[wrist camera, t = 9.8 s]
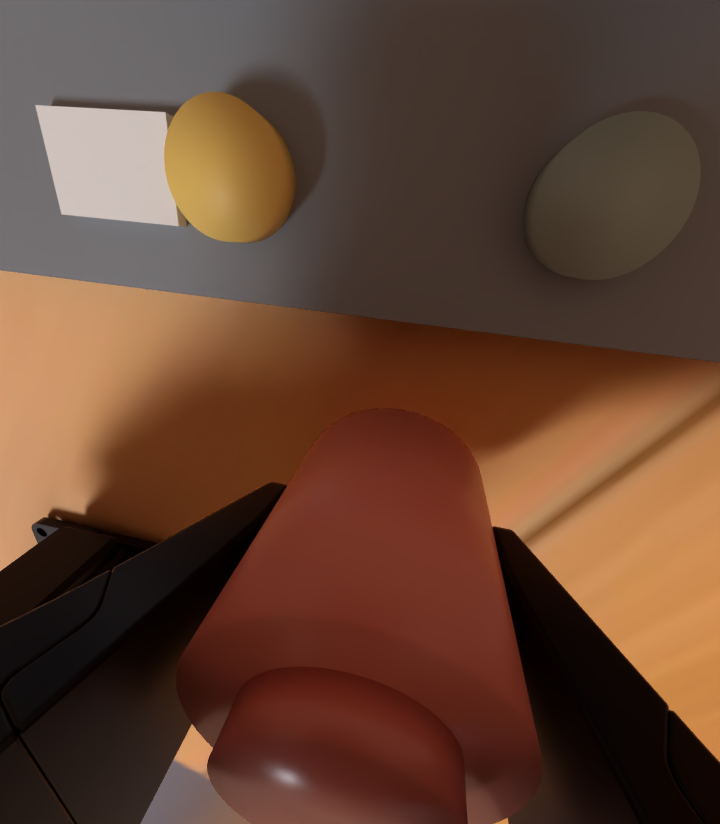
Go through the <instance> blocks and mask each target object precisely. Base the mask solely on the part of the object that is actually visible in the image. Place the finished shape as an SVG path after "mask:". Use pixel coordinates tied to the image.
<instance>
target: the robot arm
mask: <svg viewBox="0 0 720 824" xmlns="http://www.w3.org/2000/svg"><path fill="white" fill-rule="evenodd" d="M286 487H287V485H284V484H279V483H274V482H271V483H268V484H266V485H265V486H263V487H261V488H259V489H257V490H255V491H254V492H252V493H250V494H248V495H246V496H244V497H242V498H241V499H239V500H237V501H235V502H233V503H231V504H230V505H228V506H226V507H224V508H222V509H220V510H219V511H217V512H215V513H213V514H211V515H209V516H208V517H206V518H204V519H202V520H200V521H198V522H197V523H195V524H193V525H191V526H189V527H187V528H186V529H184V530H182V531H180V532H178V533H176V534H175V535H173V536H171V537H169V538H167V539H165V540H164V541H162V542H160V543H154V542H150V541H146V540H142V539H137V538H133V537H129V536H124V535H120V534H116V533H111V532H107V531H103V530H99V529H94V528H90V527H86V526H81V525H77V524H73V523H68V522H64V521H60V520H56V519H51V518H46V517H44V518H42V519H40V520H39V521H37V522H36V523H34V524H33V525H32V531H33V533H34V536H35V538H36V540H37V543H38V544H37V545H36V546H34V547H33V548H31V549H30V550H29V551H27V552H26V553H25V554H23V555H22V556H21V557H19V558H18V559H17V560H15V561H14V562H12V563H11V564H10V565H8V566H7V567H6V568H4V569H3V570H2V571H0V824H140V823H141V821H142V819H143V817H144V815H145V813H146V812H147V809H148V808H149V806H150V804H151V802H152V800H153V798H154V796H155V794H156V792H157V790H158V788H159V786H160V784H161V782H162V781H163V779H164V777H165V775H166V773H167V771H168V769H169V767H170V765H171V763H172V761H173V759H174V757H175V755H176V754H177V752H178V750H179V748H180V746H181V744H182V742H183V740H184V738H185V736H186V734H187V732H188V730H189V728H190V726H191V725H192V723H191V721H190V720H189V718H188V717H187V715H186V713H185V711H184V709H183V707H182V705H181V702H180V699H179V696H178V693H177V687H176V669H177V666H178V663H179V660H180V657H181V655H182V654H183V652H184V651H185V649H186V647H187V646H188V644H189V643H190V641H191V639H192V638H193V636H194V635H195V633H196V631H197V630H198V628H199V627H200V625H201V623H202V622H203V620H204V619H205V617H206V615H207V614H208V612H209V611H210V609H211V607H212V606H213V604H214V603H215V601H216V599H217V598H218V596H219V594H220V593H221V591H222V590H223V588H224V586H225V585H226V583H227V582H228V580H229V578H230V577H231V575H232V574H233V572H234V570H235V569H236V567H237V566H238V564H239V562H240V561H241V559H242V558H243V556H244V554H245V553H246V551H247V550H248V548H249V546H250V545H251V543H252V542H253V540H254V538H255V537H256V535H257V534H258V532H259V530H260V529H261V527H262V526H263V524H264V522H265V521H266V519H267V518H268V516H269V514H270V513H271V511H272V510H273V508H274V506H275V505H276V503H277V502H278V500H279V498H280V497H281V495H282V494H283V492H284V490H285V489H286ZM492 529H493V533H494V538H495V542H496V547H497V552H498V556H499V561H500V566H501V570H502V575H503V580H504V584H505V589H506V594H507V598H508V603H509V607H510V612H511V617H512V621H513V626H514V631H515V635H516V640H517V645H518V649H519V654H520V659H521V663H522V668H523V672H524V677H525V682H526V686H527V691H528V696H529V700H530V705H531V710H532V714H533V719H534V724H535V728H536V733H537V737H538V742H539V747H540V751H541V756H542V768H543V772H542V777H541V782H540V785H539V787H538V789H537V791H536V793H535V795H534V797H533V798H532V799H531V800H530V801H529V802H528V803H527V804H526V806H525V807H523V808H522V809H520V810H519V811H518V812H516V813H515V814H514V815H512V816H510V817H508V822H509V824H720V762H719V761H718V760H717V759H716V758H715V756H714V755H713V754H712V753H711V752H710V751H709V750H708V749H707V748H706V747H705V746H704V744H703V743H702V742H701V741H700V740H699V739H698V738H697V737H696V736H695V734H694V733H693V732H692V731H691V730H690V729H689V728H688V727H687V725H686V724H685V723H684V722H683V721H682V720H681V719H680V718H679V716H678V715H677V714H676V713H675V712H674V711H671V710H669V707H668V705H667V703H666V702H665V701H664V700H663V699H662V698H661V696H660V695H659V694H658V693H657V692H656V691H655V690H654V689H653V687H652V686H651V685H650V684H649V683H648V682H647V681H646V680H645V678H644V677H643V676H642V675H641V674H640V673H639V672H638V671H637V670H636V668H635V667H634V666H633V665H632V664H631V663H630V662H629V661H628V659H627V658H626V657H625V656H624V655H623V654H622V653H621V652H620V650H619V649H618V648H617V647H616V646H615V645H614V644H613V643H612V641H611V640H610V639H609V638H608V637H607V636H606V635H605V634H604V632H603V631H602V630H601V629H600V628H599V627H598V626H597V625H596V623H595V622H594V621H593V620H592V619H591V618H590V617H589V616H588V614H587V613H586V612H585V611H584V610H583V609H582V608H581V607H580V605H579V604H578V603H577V602H576V601H575V600H574V599H573V598H572V596H571V595H570V594H569V593H568V592H567V591H566V590H565V589H564V587H563V586H562V585H561V584H560V583H559V582H558V581H557V580H556V578H555V577H554V576H553V575H552V574H551V573H550V572H549V571H548V569H547V568H546V567H545V566H544V565H543V564H542V563H541V562H540V561H539V559H538V558H537V557H536V556H535V555H534V554H533V553H532V552H531V550H530V549H529V548H528V547H527V546H526V545H525V544H524V543H523V541H522V540H521V539H520V538H519V537H518V536H517V535H516V534H515V533H514V532H513V531H512V530H510V529H505V528H500V527H495V526H494V527H492Z"/></svg>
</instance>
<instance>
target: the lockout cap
mask: <svg viewBox="0 0 720 824" xmlns="http://www.w3.org/2000/svg"><path fill="white" fill-rule="evenodd" d="M176 687H177V693H178V696H179V699H180V702H181V705H182V707H183V709H184V711H185V713H186V715H187V717H188V718H189V720H190V721H191V723H192V724H193V725H194V727H195V728H196V730H197V731H198V732H199V733H200V734H201V735H202V737H203V738H204V739H205V740H206V741H207V742H208V743H209V744H210V745H211V746H212V747H213V750H212V752H211V754H210V756H209V759H208V764H207V770H208V775H209V778H210V781H211V783H212V784H213V786H214V788H215V790H216V791H217V792H218V794H219V795H220V796H221V797H222V799H223V800H224V801H225V802H226V803H227V804H228V805H229V806H230V807H232V808H233V810H235V811H236V812H237V813H238V814H239V815H241V816H242V817H243V818H245V819H246V820H247V821H249V822H250V823H252V824H493V823H496V822H499V821H501V820H503V819H505V818H507V817H510V816H512V815H514V814H515V813H516V812H518V811H519V810H520V809H522V808H523V807H525V806H526V804H527V803H528V802H529V801H530V800H531V799H532V798H533V797H534V795H535V793H536V791H537V789H538V787H539V785H540V782H541V777H542V772H543V768H542V756H541V751H540V747H539V742H538V737H537V733H536V728H535V724H534V719H533V714H532V710H531V705H530V700H529V696H528V691H527V686H526V682H525V677H524V672H523V668H522V663H521V659H520V654H519V649H518V645H517V640H516V635H515V631H514V626H513V621H512V617H511V612H510V607H509V603H508V598H507V594H506V589H505V584H504V580H503V575H502V570H501V566H500V561H499V556H498V552H497V547H496V542H495V538H494V533H493V529H492V524H491V519H490V515H489V510H488V505H487V501H486V496H485V491H484V487H483V482H482V478H481V474H480V471H479V467H478V465H477V463H476V461H475V458H474V456H473V455H472V453H471V452H470V450H469V449H468V447H467V446H466V445H465V444H464V443H463V442H462V441H461V439H460V438H459V437H458V436H456V435H455V434H454V433H453V432H452V431H450V430H449V429H448V428H446V427H445V426H443V425H442V424H440V423H439V422H436V421H434V420H432V419H430V418H428V417H426V416H423V415H420V414H417V413H414V412H410V411H405V410H399V409H389V408H387V409H371V410H364V411H360V412H357V413H353V414H351V415H348V416H346V417H344V418H341V419H340V420H338V421H336V422H335V423H333V424H332V425H330V426H329V427H328V428H327V429H326V430H324V431H323V432H322V434H321V435H320V436H319V437H318V438H317V439H316V441H315V442H314V444H313V446H312V447H311V449H310V450H309V452H308V453H307V455H306V457H305V458H304V460H303V461H302V463H301V465H300V466H299V468H298V469H297V471H296V473H295V474H294V476H293V478H292V479H291V481H290V482H289V484H288V486H287V487H286V489H285V490H284V492H283V494H282V495H281V497H280V498H279V500H278V502H277V503H276V505H275V506H274V508H273V510H272V511H271V513H270V514H269V516H268V518H267V519H266V521H265V522H264V524H263V526H262V527H261V529H260V530H259V532H258V534H257V535H256V537H255V538H254V540H253V542H252V543H251V545H250V546H249V548H248V550H247V551H246V553H245V554H244V556H243V558H242V559H241V561H240V562H239V564H238V566H237V567H236V569H235V570H234V572H233V574H232V575H231V577H230V578H229V580H228V582H227V583H226V585H225V586H224V588H223V590H222V591H221V593H220V594H219V596H218V598H217V599H216V601H215V603H214V604H213V606H212V607H211V609H210V611H209V612H208V614H207V615H206V617H205V619H204V620H203V622H202V623H201V625H200V627H199V628H198V630H197V631H196V633H195V635H194V636H193V638H192V639H191V641H190V643H189V644H188V646H187V647H186V649H185V651H184V652H183V654H182V655H181V657H180V660H179V663H178V666H177V669H176Z"/></svg>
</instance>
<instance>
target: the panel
mask: <svg viewBox="0 0 720 824" xmlns="http://www.w3.org/2000/svg"><path fill="white" fill-rule="evenodd" d="M0 270H2V271H10V272H18V273H26V274H34V275H41V276H49V277H57V278H65V279H73V280H80V281H88V282H96V283H104V284H112V285H119V286H127V287H135V288H143V289H151V290H158V291H166V292H174V293H182V294H190V295H197V296H205V297H213V298H221V299H229V300H236V301H244V302H252V303H260V304H267V305H275V306H283V307H291V308H299V309H306V310H314V311H322V312H330V313H338V314H345V315H353V316H361V317H369V318H377V319H384V320H392V321H400V322H408V323H416V324H423V325H431V326H439V327H447V328H455V329H462V330H470V331H478V332H486V333H493V334H501V335H509V336H517V337H525V338H532V339H540V340H548V341H556V342H564V343H571V344H579V345H587V346H595V347H603V348H610V349H618V350H626V351H634V352H642V353H649V354H657V355H665V356H673V357H681V358H688V359H696V360H704V361H712V362H720V0H0Z"/></svg>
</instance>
